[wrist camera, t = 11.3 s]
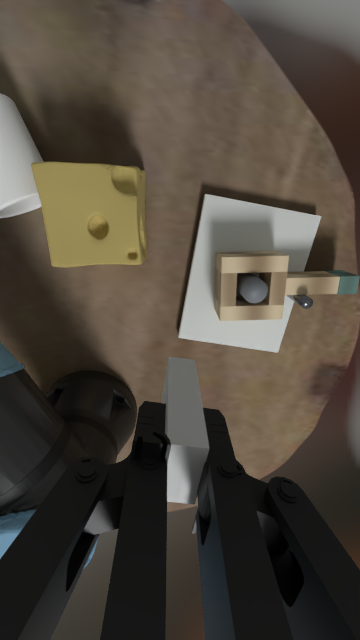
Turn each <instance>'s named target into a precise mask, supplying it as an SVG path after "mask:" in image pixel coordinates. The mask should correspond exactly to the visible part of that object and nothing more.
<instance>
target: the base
mask: <svg viewBox="0 0 360 640" xmlns="http://www.w3.org/2000/svg"><path fill="white" fill-rule="evenodd" d="M320 219H321V216H317V215H312V214H307V213H302V212H296V211H291V210H286V209H281V208H276V207H271V206H265V205H260V204H255V203H250V202H245V201H240V200H234V199H229V198H224V197H219V196H214V195H209V194H205V195H204V199H203V204H202V209H201V215H200V220H199V225H198V231H197V236H196V242H195V247H194V252H193V258H192V263H191V268H190V274H189V279H188V285H187V290H186V295H185V301H184V306H183V311H182V317H181V322H180V327H179V333H178V337H179V338H183V339H190V340H197V341H203V342H210V343H217V344H224V345H230V346H237V347H244V348H250V349H257V350H264V351H270V352H277V353H278V350H279V347H280V344H281V341H282V338H283V335H284V332H285V328H286V325H287V322H288V319H289V316H290V313H291V310H292V307H293V304H294V301H293V300H292V299H290V298H289V297H287V296H286V295H285V298H284V308H283V317H282V319H272V320H237V321H220V320H219V318H218V316H217V313H216V311H215V263H216V252H253V251H276V252H279V253H282V254H285V255H288V256H289V262H288V271H287V272H304V269H305V266H306V263H307V260H308V257H309V254H310V250H311V247H312V244H313V241H314V238H315V235H316V232H317V229H318V225H319V222H320ZM267 292H268V288H267V285H266V283H265V282H264V281H262V280H261V279H260V278H259V272H257V273H237V287H236V296H243V297H244V298H245V300H246V301H248V302H250V303H259V302H261V301H262V300H264V298H265V297H266V295H267Z"/></svg>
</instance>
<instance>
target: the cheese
mask: <svg viewBox="0 0 360 640" xmlns="http://www.w3.org/2000/svg"><path fill="white" fill-rule="evenodd" d="M31 167H32V172H33V176H34V179H35V183H36V187H37V190H38V194H39V198H40V202H41V206H42V212H43V217H44V223H45V229H46V235H47V240H48V246H49V253H50V260H51V265H52V266H55V267H77V266H82V265H96V264H130V265H140V264H142V263H143V262H144V260H145V258H146V257H147V253H148V247H147V231H146V221H145V182H146V173H145V171H144V170H140V168H139V167H137V166H118V165H110V164H96V163H68V162H35V163H32V164H31Z"/></svg>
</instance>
